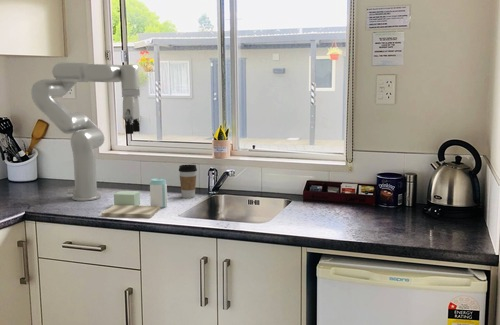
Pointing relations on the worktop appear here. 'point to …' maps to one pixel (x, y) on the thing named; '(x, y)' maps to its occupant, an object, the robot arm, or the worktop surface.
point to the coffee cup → (188, 180)
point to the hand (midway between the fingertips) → (132, 132)
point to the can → (158, 192)
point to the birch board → (131, 211)
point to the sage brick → (127, 198)
